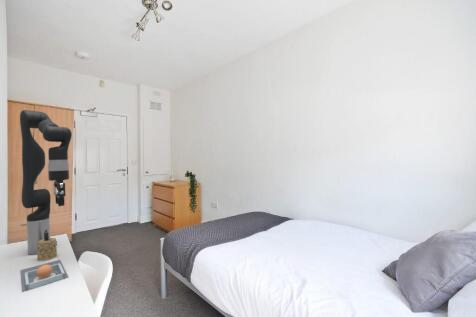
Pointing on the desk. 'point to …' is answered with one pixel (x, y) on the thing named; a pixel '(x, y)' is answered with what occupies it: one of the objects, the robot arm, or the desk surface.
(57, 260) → the mat
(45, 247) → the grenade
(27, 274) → the square tray
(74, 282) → the desk surface
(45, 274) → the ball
